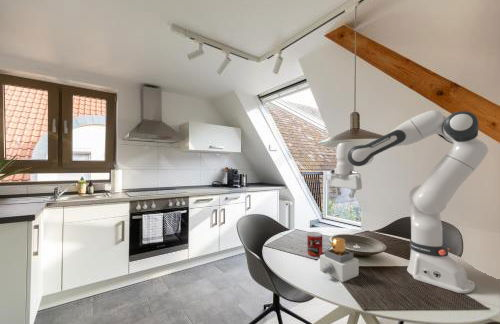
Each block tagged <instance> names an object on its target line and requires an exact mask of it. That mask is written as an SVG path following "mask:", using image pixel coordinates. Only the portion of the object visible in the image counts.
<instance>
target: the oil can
mask: <svg viewBox="0 0 500 324" xmlns="http://www.w3.org/2000/svg"><path fill="white" fill-rule="evenodd" d="M329 245H330V246H331V249H332V248H333V253H334V254H336V255H338V256H343V255H345V250H346V239H345V238H342V237H333V238H332V242H329Z"/></svg>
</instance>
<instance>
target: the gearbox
mask: <svg viewBox="0 0 500 324" xmlns="http://www.w3.org/2000/svg"><path fill="white" fill-rule="evenodd" d="M359 264H360V263H359V258H357V257H354V252H351V251H348V250H346V249H345V255H343V256H338V255H336V254H334V253H333V248H332V247H331V248H329V249H326V250H324V254H323V253H322V255H320V256H319V271H320V272H322V273H323V274H326V275H327V276H329V277H332V278H334V279H335V280H337V281H339V282H341V283H344V282H346V281H348V280H351V279H353V278H355V277H358V276H359V273H360V272H359V270H360V269H359V267H360V266H359Z"/></svg>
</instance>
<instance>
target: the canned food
mask: <svg viewBox="0 0 500 324" xmlns="http://www.w3.org/2000/svg"><path fill="white" fill-rule="evenodd" d="M306 239H307V254H308V255H309V256H311V257H316V256H317V257H320V255H323V233H321V232H320V231H309V232H307V238H306Z"/></svg>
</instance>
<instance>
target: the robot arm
mask: <svg viewBox="0 0 500 324" xmlns="http://www.w3.org/2000/svg"><path fill="white" fill-rule="evenodd" d="M479 126H480V125H479V119H478V117H477V116H476V115H475V113H472V112H470V111H467V110H466V111H456V112H453V113H451V114H449V115H448V116H444V114H443V112H440V110H436V109H430V110H426V111H424V112H422V113H420V114H417V115H415V116H413V117H410V118H409V119H407V120H406V121H404V122H402V123H401V124H399V125H398V126H396V127H395V128H393V129H392V130H391V131H390V132H388V133H386V134H385V135H383V136H381V137H378V138H377V139H375V140H373V141H371V142H369V143H366V144H361V145H358V144H357V143H354V142H353V141H351V140H346V141H342V142H339V143H338V144H337V146H336V152H335V153H336V154H335V155H336V165H335V168H333V169H332V168H331V169H330V171H329V174H330V176H329V184H330V186H331V187H334V188H335V191H336V192H335V193H336V195H337V196H341V195H342V192H341V190H340V189H348V190H350V193H349V198H351V199H354V198H355V194H356V192H357V191H361V190H362V188H363V186H362V185H363V183H362V177H361V173H359V172H358V171H355V169H354V168H355V167H362V166H366V165H369V164H370V163H372V161H373V160H374V157H375V156H376V155H378V154H380V153H383V152H385V151H387V150H389V149H391V148H395V147H400V146H409V145H413V144H414V143H417V142H420V141H422V140H424V139H426V138H428V137H430V136H433V135H437V136H439V137H440V138H441V139H443V140H445V141H446V142H448V143H449V144H452V147H451V148H450V150H449V151H448V152H447V153H446V154H445V155H444V156H443V157H442V159H441V160H440V161H439V162H438V163H437V164H436V166H434V168H432V170H431V171H430V173H429V175H428V176H427V177H426V179H425V181H424V182H423V183H422V184H420V185H416V186H413V188H411V190H410V192H409V194H408V197H409V198H408V200H409V212H410V213H409V214H410V215H409V216H410V235H411V236H410V240H409V251H410V255H409V257H410V258H409V262H408V265H407V269H406V271H407V272H408V273H409V274H410V275H411V276H412V278H413V279H414V280H416V281H419V282H423V283H426V284H429V285H433V286H436V287H438V288H442V289H445V290H447V291H452V292H455V293H457V294H467V293H468V294H469V293H471V292H473V291H475V289H476V284H475V282H474V281H472V280H471V279H468V274H467V271H466V268H464V267H463V266H462V265H461V264H460V263H458V262H457V260H455V259H454V258H452V257H451V256H450V255H449V251H450V247H446V246H445V245H444V244H443V223H442V219H441V213H442V212H443V211H445V209H446V208H447V205H448V204H449V202H450V201H451V199H452V198H453V197H454V196H455V194H456V193H457V190H458V189H459V188H460V186H461V185H463V183H464V182H465V181H466V180H467V179H468V178H469V177H470V176H471V174H473V173H474V172H475V170H476V169H478V167H479V166H480V165H481V164H482V162H483V161H484V159H485V158H486V156H487V154H488V152H489V147H488V145H487V144H486V143H485V142H484V141H481V140H480V139H478V138H477V137H478V135H479Z"/></svg>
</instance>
